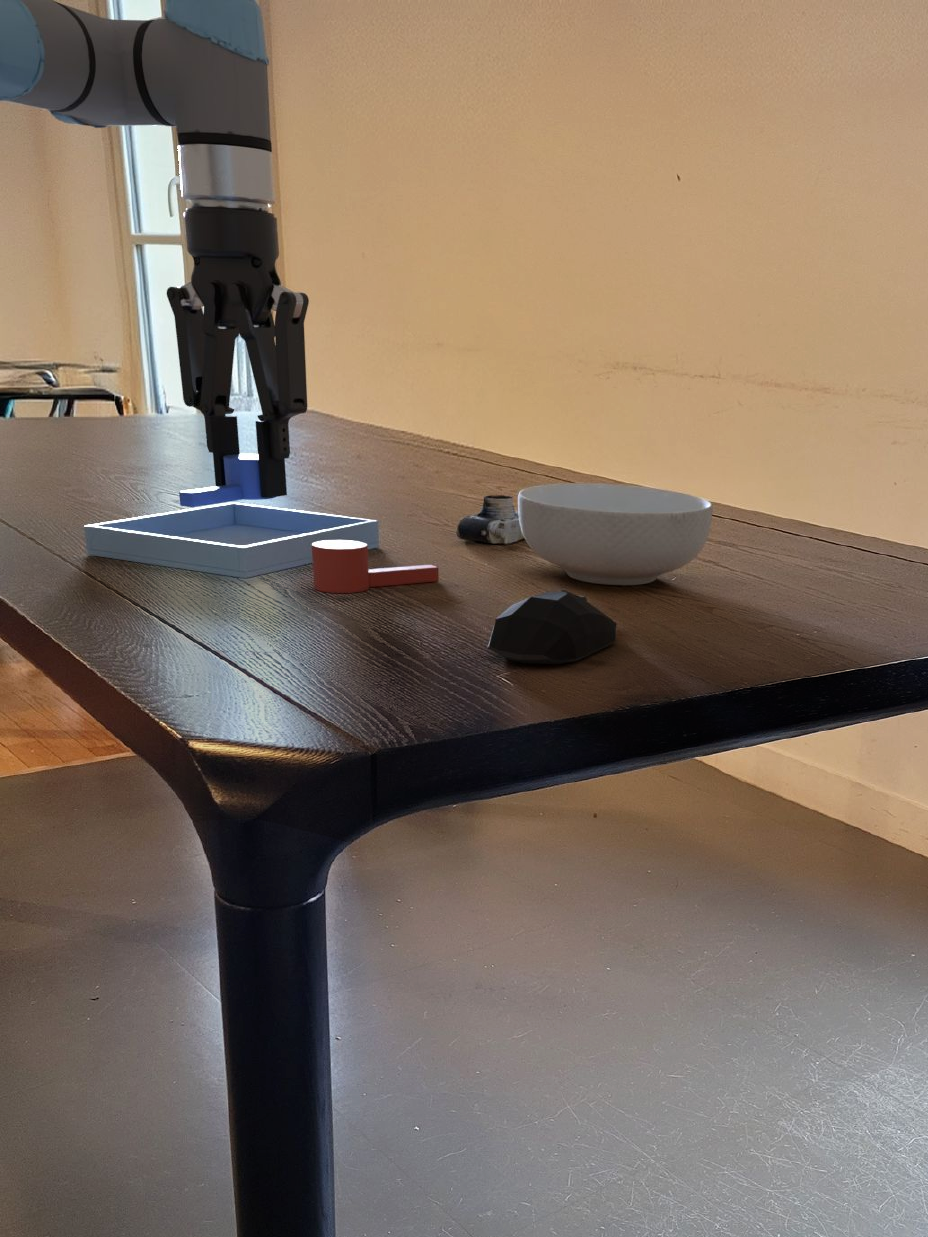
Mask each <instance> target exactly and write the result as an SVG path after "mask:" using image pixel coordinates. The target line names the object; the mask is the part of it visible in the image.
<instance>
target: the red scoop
mask: <svg viewBox="0 0 928 1237" xmlns="http://www.w3.org/2000/svg"><path fill="white" fill-rule="evenodd" d="M312 562H313V563H312V578H313V589H314V590H316V591H319V592H322V593H330V594H354V593H361V592H365V591H368V590H369V589H370V588H375V587H377V588H378V587H388V586H401V585H412V584H425V583H434V582H439V580H440V578H439V577H440V575H439V567H438V566H435V565H432V564H424V565H423V564H421V565H409V566H397V567H384V568H383V567H380V568H369V550H368V545H367V544H366V543H363V542H359V541H352V540H324V541H318V542H314V543H312Z"/></svg>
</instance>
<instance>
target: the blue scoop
mask: <svg viewBox="0 0 928 1237" xmlns="http://www.w3.org/2000/svg"><path fill="white" fill-rule="evenodd" d="M223 459H224V470H225V482H226V485H223V486H216V485H215V486H210V487H209V486H208V487H203V488H195V489H187V490H180V491H179V492H178V494H179V503H180V504H179V505H180V506H181V507H188V508H198V507H205V506H211V505H218V504H224V503H231V502H235V501H241V500H242V501H243V500H245V501H246V500H247V501H250V500H251V501H253V500H254V501H256V500H257V501H258V500H260V501H261V500H270V499H275V498H276V497H272V498H261V490H260V477H259V463H258V453H257V454H256V453H255V454H254V453H240V454H234V455H226V456H224V457H223Z"/></svg>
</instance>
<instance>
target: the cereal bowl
mask: <svg viewBox="0 0 928 1237" xmlns="http://www.w3.org/2000/svg"><path fill="white" fill-rule="evenodd" d="M517 495H518V496H517V511H518V515H519V523H520V526H521V531H522V535H523V536H524V538H523V539H524V540H525V542H526V544H527V545H528V546H529V548H530V549H531V550H532V551H533V552H534V553H535V554H537V555H538V556H539V557H540V558H541V559H543V560H545V561H546V562H548V563H550V564H552V565H555V566H556V567H559V568H560V569H563V570H564V571H565V573H566V575H567V576H568V577H569V578H571V579H574V580H576V581H580V582H584V583H591V584H595V585H596V584H597V585H605V586H606V585H607V586H638V585H645V584H651V583H652V582H655V581H656V580H657V579H658V577H659V576H661V575H664V574H667V573H669V572H670V573H671V572H673V571H676V570H678V569H681V568H683V567H685V566H687V565H688V564H690V563H691V562H692V561H694V560H695V558H697V557H698V556H699V554H700V553H701V551H703V549H704V547H705V545H706V542H707V541H708V537H709V534H710V530H711V525H712V519H713V510H714V509H713V508H714V507H713V506H714V505H713V504H712V502H710V500H707V499H705V498H702V497H699V496H695V495H692V494H688V493H683V492H679V491H672V490H668V489H661V488H656V487H646V486H638V485H629V484H627V485H626V484H618V483H617V484H615V483H614V484H613V483H595V482H591V483H589V482H588V483H587V482H576V483H575V482H569V483H552V484H551V483H549V484H540V485H534V486H529V487H525V488H523V489H521V490H519V492H518V494H517Z"/></svg>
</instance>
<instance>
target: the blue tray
mask: <svg viewBox="0 0 928 1237" xmlns="http://www.w3.org/2000/svg"><path fill="white" fill-rule="evenodd" d="M83 527H84V537H85V544H86V554H87V555H88V556H94V557H101V558H106V559H113V560H121V561H126V562H127V561H128V562H134V563H141V564H147V565H153V566H160V567H167V568H174V569H180V570H188V571H194V572H199V573H207V574H214V575H221V576H227V577H232V578H233V577H234V578H241V579H249V578H253V577H258V576H261V575H267V574H270V573H275V572H279V571H283V570H288V569H291V568H296V567H301V566H305V565H309V564H313V562H312V543H314V542H318V541H324V540H352V541H359V542H363V543H366V544H367V545H368V551H369V550H373V549H377V548H379V547H380V532H379V520H378V519H369V518H361V517H355V516H353V517H352V516H345V515H339V514H338V515H336V514H329V513H320V512H314V511H306V510H296V509H288V508H280V507H272V506H264V505H257V504H248V503H241V502H225V503H219V504H212V505H206V506H200V507H193V508H189V509H188V508H187V509H181V510H175V511H169V512H164V513H156V514H150V515H143V516H138V517H131V518H126V519H118V520H111V521H105V522H100V523H99V522H98V523H93V524H86V525H84V526H83Z"/></svg>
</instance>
